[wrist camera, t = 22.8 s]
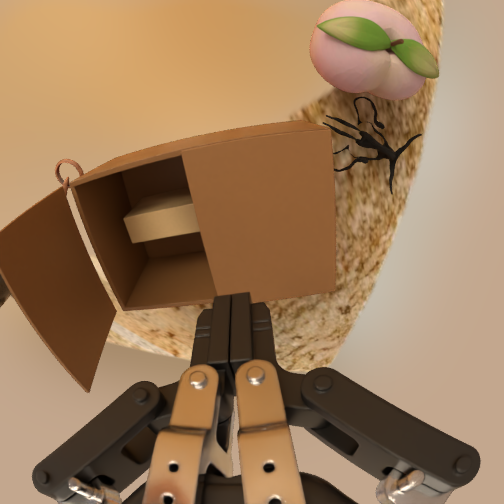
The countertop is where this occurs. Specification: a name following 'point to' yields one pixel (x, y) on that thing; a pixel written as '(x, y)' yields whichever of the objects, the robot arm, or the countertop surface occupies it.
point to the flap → (267, 213)
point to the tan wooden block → (162, 216)
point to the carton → (109, 251)
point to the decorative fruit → (370, 50)
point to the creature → (371, 143)
